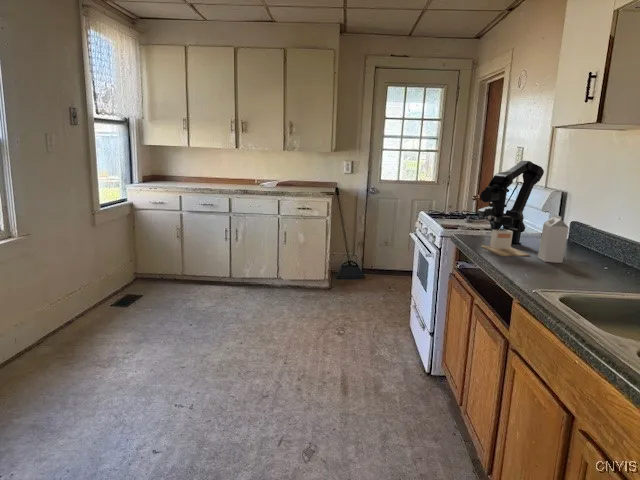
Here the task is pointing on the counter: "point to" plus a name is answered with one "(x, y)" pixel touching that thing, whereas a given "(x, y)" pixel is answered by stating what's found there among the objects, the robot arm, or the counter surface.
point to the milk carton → (553, 240)
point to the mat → (506, 251)
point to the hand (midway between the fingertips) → (493, 235)
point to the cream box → (501, 239)
